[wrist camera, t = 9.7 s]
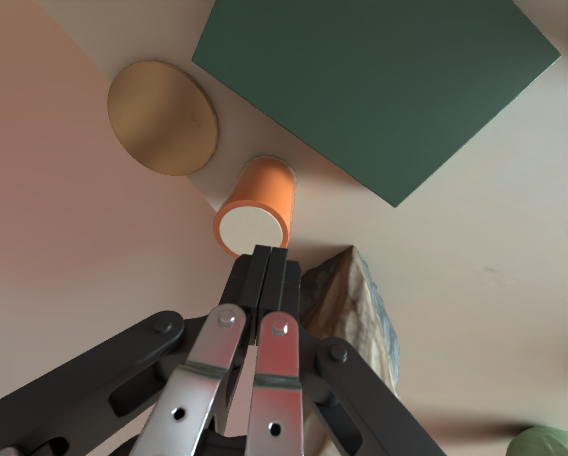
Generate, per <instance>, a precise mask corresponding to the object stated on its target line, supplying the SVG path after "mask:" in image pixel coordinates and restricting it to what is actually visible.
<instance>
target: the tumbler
mask: <svg viewBox="0 0 568 456" xmlns="http://www.w3.org/2000/svg"><path fill="white" fill-rule="evenodd" d="M296 189H297V179H296V175H295V173H294V171H293V169H292V168H291V167H290V166H289V165H288V164H287V163H286V162H285V161H283V160H282V159H280V158H277V157H274V156H268V155H264V156H259V157H256V158H253V159H252V160H250V161H249V162H248V163H247V164H246V165H245V166H244V167H243V169H242V171H241V173H240V175H239V176H238V178H237V180H236V182H235V183H234V185H233V187H232V189H231V190H230V192H229V194H228V195H227V197H226V199H225V201H224V202H223V204H222V206H221V207H220V209H219V211H218V213H217V214H216V217H215V219H214V224H213V230H214V235H215V238H216V240H217V242H218V243H219V245H220V246H221V247H222V248H223V249H224V250H225V251H226V252H227V253H228V254H230V255H231V256H233V257H235V258H238V257H240V256H241V255H242V254H249V255H252V254H253V251H254V248H255V245H256V244H258V245H265V246H271V251H272V247H279V248H286V246H287V244H288V241H289V234H290V228H291V221H292V214H293V208H294V201H295V195H296Z"/></svg>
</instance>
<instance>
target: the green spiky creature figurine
mask: <svg viewBox="0 0 568 456" xmlns="http://www.w3.org/2000/svg"><path fill="white" fill-rule="evenodd" d="M506 456H568V431H564V430H560V429H557V428H551V427H540V426H536V427H532V428H529V429H527V430H524V431H523V432H521V433H520V434H519V435H517V436H516V437H515V438H514V439H513V440H512V441H511V442H510V444H509V446H508V448H507V452H506Z"/></svg>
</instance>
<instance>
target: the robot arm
mask: <svg viewBox="0 0 568 456" xmlns="http://www.w3.org/2000/svg"><path fill="white" fill-rule="evenodd" d="M287 252H288V249H286V248H279V247H272V251H271V246H265V245H258V244H256V245H255V248H254V251H253V254H252V255H249V254H242V255H241V256H240V257H238V258H237V259H236V260H235V263H234V265H233V268H232V271H231V273H230V276H229V279H228V281H227V284H226V287H225V289H224V292H223V294H222V297H221V300H220V302H219V305H218V306H217V307H215V308H214V309H212V310H211V312H210V313H209V314H208V315H206V316H203V317H199V318H192V319H185V320H183V318H182V316H181V315H180V314H179V313H177V312H175V311H161V312H158V313H155V314H153V315H152V316H150V317H148V318H146V319H144V320H142V321H141V322H139V323H137V324H135V325H133V326H132V327H130V328H128V329H126V330H124V331H123V332H121V333H119V334H117V335H115V336H114V337H112V338H110V339H108V340H106V341H104V342H103V343H101V344H99V345H97V346H95V347H94V348H92V349H90V350H88V351H86V352H85V353H83V354H81V355H79V356H77V357H76V358H74V359H72V360H70V361H68V362H66V363H65V364H63V365H61V366H59V367H57V368H56V369H54V370H52V371H50V372H48V373H47V374H45V375H43V376H41V377H39V378H38V379H36V380H34V381H32V382H30V383H29V384H27V385H25V386H23V387H21V388H19V389H18V390H16V391H14V392H13V393H10V394H9V395H7V396H5V397H3V398H1V399H0V456H85V455H87V454H88V453H89V452H91V451H92V450H93V449H95V448H96V447H97V446H99V445H100V444H101V443H102V442H104V441H105V440H106V439H108V438H109V437H111V436H112V435H113V434H114V433H116V432H117V431H118V430H120V429H121V428H122V427H124V426H125V425H126V424H128V423H129V422H130V421H132V420H133V419H134V418H136V417H137V416H138V415H140V414H141V413H142V412H144V411H145V410H146V409H147V408H149V407H150V406H152V405H153V404H154V403H156V404H155V406H154V408H153V410H152V412H151V414H150V415H149V418H148V419H147V421H146V423H145V425H144V427H143V429H142V431H141V433H140V434H138V435H136V436H134V437H132V438H131V439H129V440H128V441H126V442H125V443H123V444H122V445H121V446H119V447H118V448H117V449H115V450H114V451H113V452H112V453H111V454H109V455H108V456H306V455H305V454H304V452H303V408H302V395H303V396H305V397H306V399H307V402H308V403H309V405H310V407H311V408H312V410H313V412H314V413H315V415H316V416H317V418H318V420H319V421H320V423H321V424H322V426H323V428H324V429H325V431H326V432H327V434H328V435H329V437H330V439H331V440H332V442H333V443H334V445H335V447H336V448H337V450H338V451H339V453H340V455H341V456H447V455H446V454H445V453H444V452H443V451H442V449H441V448H440V447H439V446H438V445H437V444H436V442H435V441H434V440H433V439H432V438H431V437H430V435H429V434H428V433H427V432H426V431H425V430H424V428H423V427H422V426H421V425H420V424H419V423H418V422H417V420H416V419H415V418H414V417H413V416H412V415H411V413H410V412H409V411H408V410H407V409H406V408H405V406H404V405H403V404H402V403H401V402H400V401H399V399H398V398H397V397H396V396H395V395H394V394H393V392H392V391H391V390H390V389H389V388H388V387H387V386H386V384H385V383H384V382H383V381H382V380H381V379H380V377H379V376H378V375H377V374H376V373H375V372H374V370H373V369H372V368H371V367H370V366H369V365H368V363H367V362H366V361H365V360H364V359H363V358H362V356H361V355H360V354H359V353H358V352H357V351H356V350H355V348H354V347H353V346H352V345H351V344H350V343H349V342H348V341H346V340H345V339H343V338H340V337H335V336H330V337H326V338H324V339H323V340H322V339H319V338H317V337H315V336H313V335H311V334H309V333H308V332H307V331H306V330H305V329H304V328H303V327H302V326H301V324H300V322H299V318H298V311H299V298H300V286H301V273H302V270H301V267H300V265H299V263H298V261H291V260H286V259H287ZM256 335H257V337H256ZM255 339H256V346H258V350H257V358H256V367H255V375H254V382H253V389H252V397H251V406H250V415H249V423H248V432H247V435H244V436H237V437H225V436H224V432H225V428H226V423H227V417H228V413H229V409H230V406H231V403H232V400H233V397H234V393H235V390H236V387H237V384H238V381H239V377H240V374H241V371H242V368H243V365H244V359H245V357H246V353H247V348H248V345H254V344H255Z"/></svg>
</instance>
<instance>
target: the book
mask: <svg viewBox="0 0 568 456" xmlns="http://www.w3.org/2000/svg"><path fill="white" fill-rule="evenodd" d="M561 56H562V55H561V54H560V53H559V52H558V51H557V49H556V48H555V47H554V46H553V45H552V44H551V43H550V42H549V40H548V39H547V38H546V37H545V36H544V35H543V34H542V33H541V32H540V30H539V29H538V28H537V27H536V26H535V25H534V24H533V23H532V21H531V20H530V19H529V18H528V17H527V16H526V15H525V14H524V13H523V11H522V10H521V9H520V8H519V7H518V6H517V5H516V4H515V2H514V1H513V0H216V1H215V4H214V6H213V9H212V11H211V13H210V16H209V18H208V21H207V23H206V26H205V28H204V31H203V33H202V36H201V38H200V40H199V43H198V45H197V48H196V50H195V53H194V55H193V58H192V61H193V62H194V63H196V64H197V65H198V66H200V67H201V68H202V69H204V70H205V71H207V72H208V73H209V74H211V75H212V76H213V77H215V78H216V79H218V80H219V81H220V82H222V83H223V84H225V85H226V86H227V87H229V88H230V89H231V90H233V91H234V92H236V93H237V94H238V95H240V96H241V97H242V98H244V99H245V100H247V101H248V102H249V103H251V104H252V105H254V106H255V107H256V108H258V109H259V110H260V111H262V112H263V113H265V114H266V115H267V116H269V117H270V118H272V119H273V120H274V121H276V122H277V123H278V124H280V125H281V126H283V127H284V128H285V129H287V130H288V131H289V132H291V133H292V134H294V135H295V136H296V137H298V138H299V139H301V140H302V141H303V142H305V143H306V144H307V145H309V146H310V147H312V148H313V149H314V150H316V151H317V152H318V153H320V154H321V155H323V156H324V157H325V158H327V159H328V160H330V161H331V162H332V163H334V164H335V165H336V166H338V167H339V168H341V169H342V170H343V171H345V172H346V173H348V174H349V175H350V176H352V177H353V178H354V179H356V180H357V181H359V182H360V183H361V184H363V185H364V186H365V187H367V188H368V189H370V190H371V191H372V192H374V193H375V194H377V195H378V196H379V197H381V198H382V199H383V200H385V201H386V202H388V203H389V204H390V205H392V206H393V207H394V208H396V207H397V206H398V205H399V204H400V203H401V202H402V201H404V200H405V199H406V198H407V197H408V196H409V195H410V194H411V193H412V192H413V191H415V190H416V189H417V188H418V187H419V186H420V185H421V184H422V183H423V182H424V181H425V180H427V179H428V178H429V177H430V176H431V175H432V174H433V173H434V172H435V171H436V170H437V169H439V168H440V167H441V166H442V165H443V164H444V163H445V162H446V161H447V160H448V159H449V158H451V157H452V156H453V155H454V154H455V153H456V152H457V151H458V150H459V149H460V148H462V147H463V146H464V145H465V144H466V143H467V142H468V141H469V140H470V139H471V138H472V137H474V136H475V135H476V134H477V133H478V132H479V131H480V130H481V129H482V128H483V127H484V126H486V125H487V124H488V123H489V122H490V121H491V120H492V119H493V118H494V117H495V116H496V115H498V114H499V113H500V112H501V111H502V110H503V109H504V108H505V107H506V106H507V105H509V104H510V103H511V102H512V101H513V100H514V99H515V98H516V97H517V96H518V95H519V94H521V93H522V92H523V91H524V90H525V89H526V88H527V87H528V86H529V85H530V84H531V83H533V82H534V81H535V80H536V79H537V78H538V77H539V76H540V75H541V74H542V73H543V72H545V71H546V70H547V69H548V68H549V67H550V66H551V65H552V64H553V63H554V62H555V61H557V60H558V59H559V58H560V57H561Z"/></svg>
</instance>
